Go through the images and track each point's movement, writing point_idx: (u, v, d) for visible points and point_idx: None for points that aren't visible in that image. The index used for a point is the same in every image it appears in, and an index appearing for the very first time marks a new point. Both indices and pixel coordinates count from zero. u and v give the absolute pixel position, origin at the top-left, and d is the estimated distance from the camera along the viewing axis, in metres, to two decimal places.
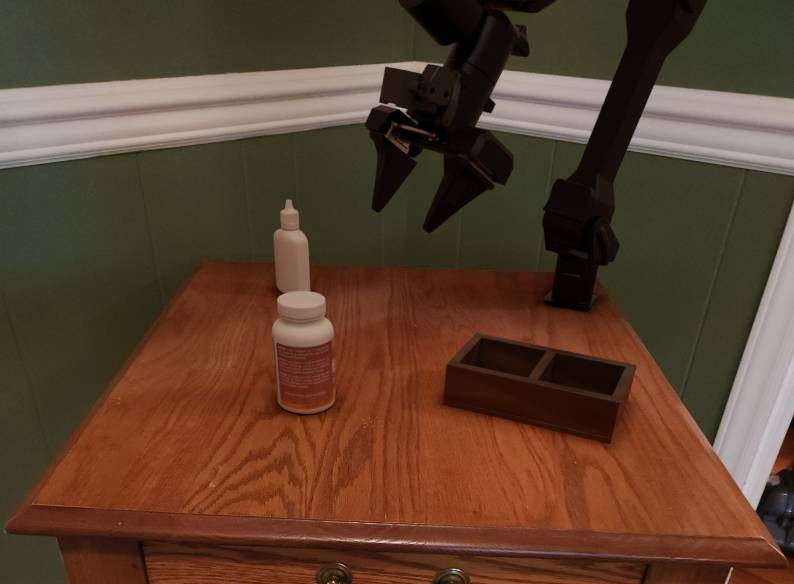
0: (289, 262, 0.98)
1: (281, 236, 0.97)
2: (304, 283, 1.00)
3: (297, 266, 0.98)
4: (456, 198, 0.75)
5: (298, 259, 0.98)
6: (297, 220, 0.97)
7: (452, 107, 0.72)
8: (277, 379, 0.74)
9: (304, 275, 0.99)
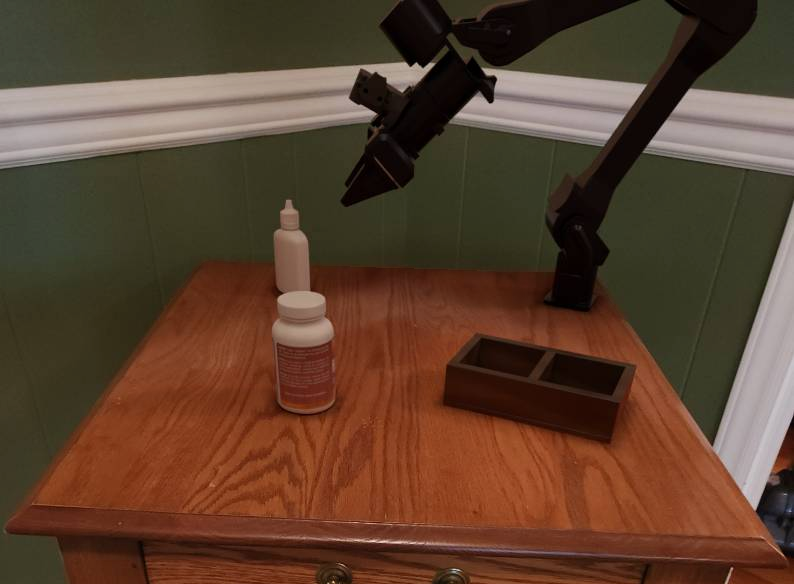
0: (289, 262, 0.98)
1: (281, 236, 0.97)
2: (304, 283, 1.00)
3: (297, 266, 0.98)
4: (369, 186, 0.89)
5: (298, 259, 0.98)
6: (297, 220, 0.97)
7: (394, 114, 0.87)
8: (277, 379, 0.74)
9: (304, 275, 0.99)
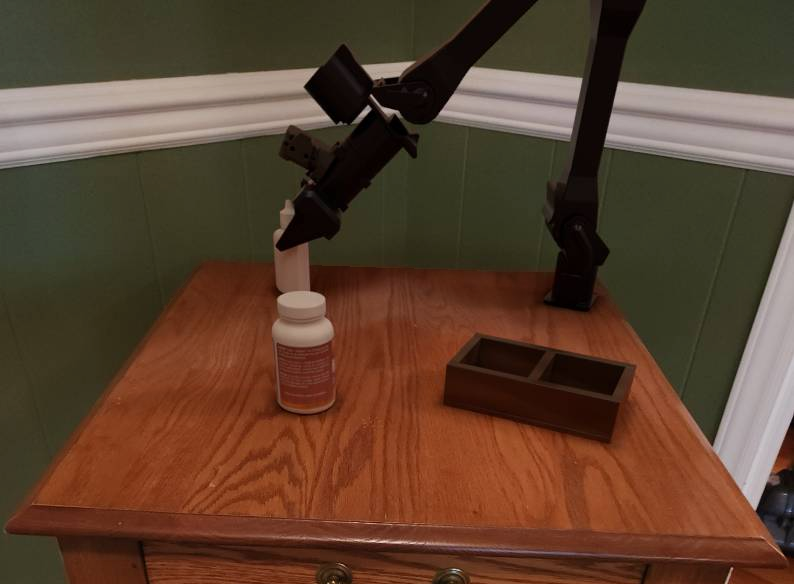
0: (289, 262, 0.98)
1: None
2: (304, 283, 1.00)
3: (297, 266, 0.98)
4: (301, 233, 0.94)
5: (298, 259, 0.98)
6: None
7: (321, 169, 0.90)
8: (277, 379, 0.74)
9: (304, 275, 0.99)
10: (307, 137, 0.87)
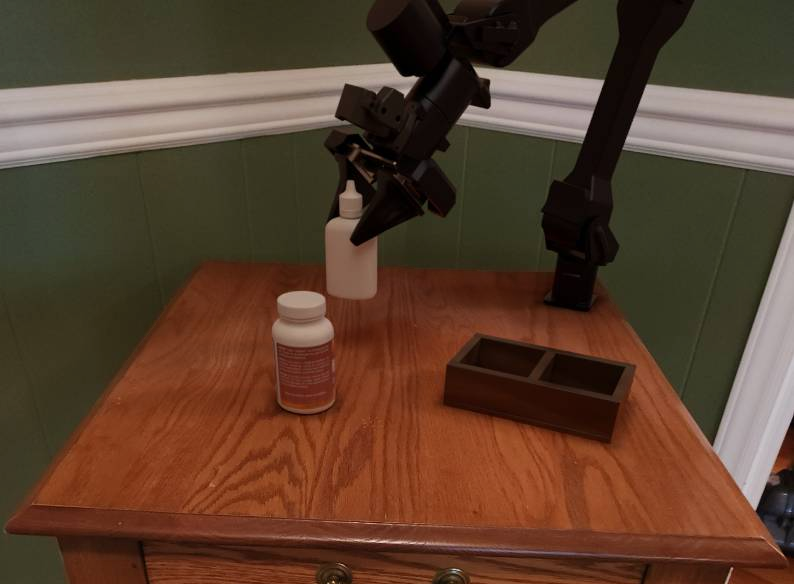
0: (360, 258, 0.79)
1: (348, 228, 0.77)
2: (375, 281, 0.82)
3: (371, 261, 0.79)
4: (386, 217, 0.76)
5: (373, 251, 0.79)
6: None
7: (404, 134, 0.73)
8: (277, 379, 0.74)
9: (375, 271, 0.81)
10: (400, 94, 0.69)
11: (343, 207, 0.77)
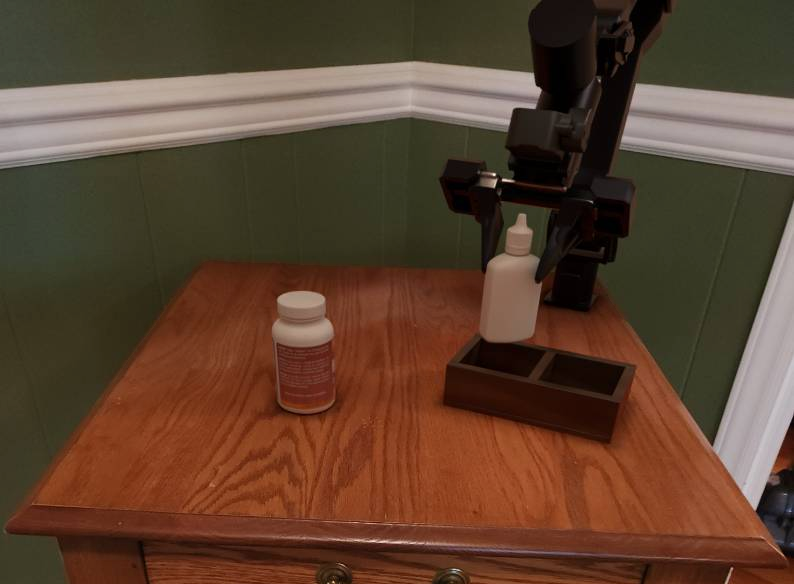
0: (532, 295, 0.72)
1: (525, 266, 0.70)
2: None
3: (539, 297, 0.73)
4: (562, 247, 0.70)
5: None
6: None
7: (573, 156, 0.68)
8: (277, 379, 0.74)
9: None
10: (591, 114, 0.64)
11: (519, 244, 0.69)
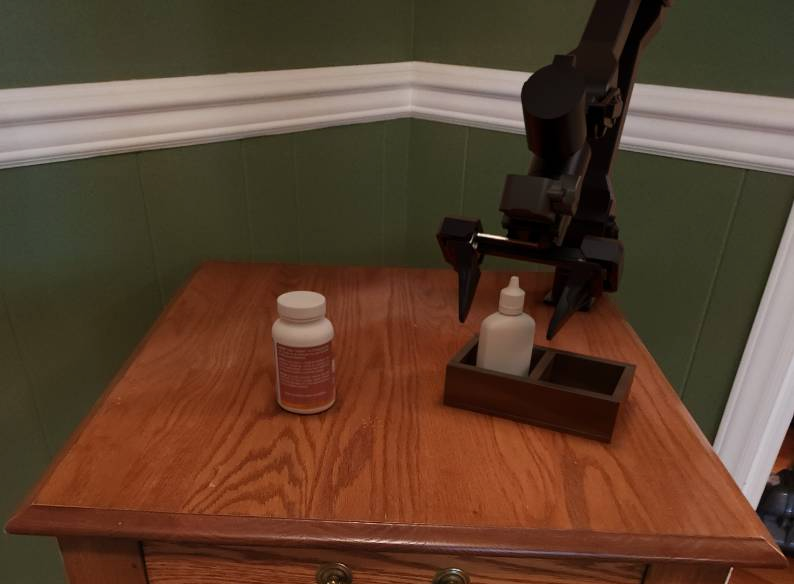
0: (524, 351, 0.76)
1: (517, 325, 0.73)
2: None
3: (531, 352, 0.76)
4: (572, 305, 0.73)
5: None
6: None
7: (563, 217, 0.71)
8: (277, 379, 0.74)
9: None
10: (581, 180, 0.67)
11: (512, 305, 0.72)
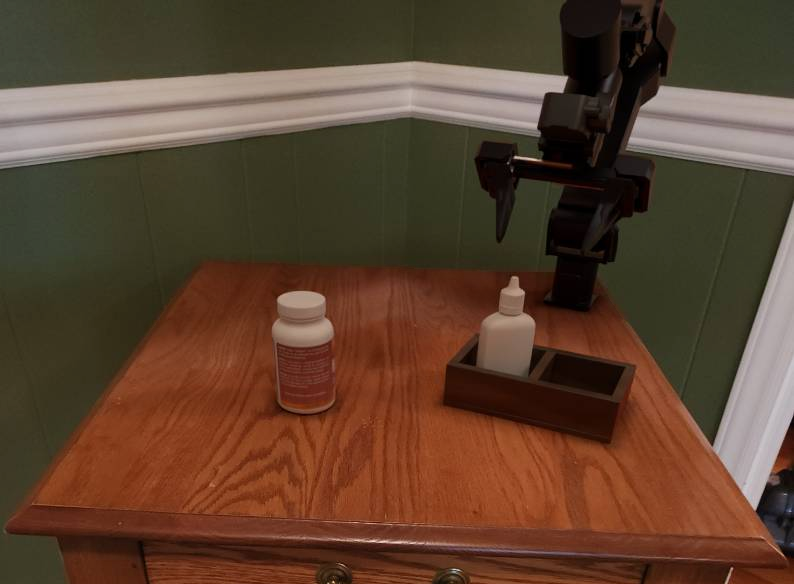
0: (524, 351, 0.76)
1: (517, 325, 0.73)
2: None
3: (531, 352, 0.76)
4: (605, 223, 0.76)
5: None
6: None
7: (597, 137, 0.75)
8: (277, 379, 0.74)
9: None
10: (616, 98, 0.71)
11: (512, 305, 0.72)
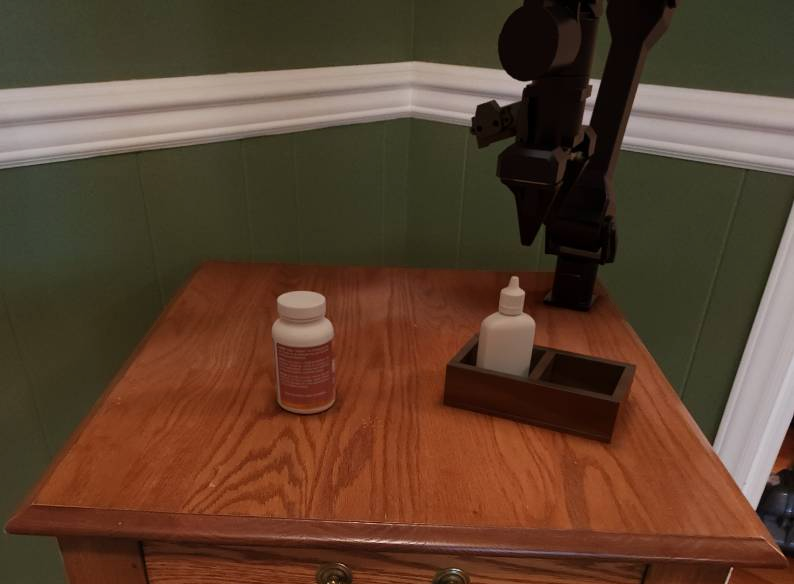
0: (524, 351, 0.76)
1: (517, 325, 0.73)
2: None
3: (531, 352, 0.76)
4: (534, 208, 0.76)
5: None
6: None
7: (521, 124, 0.75)
8: (277, 379, 0.74)
9: None
10: (485, 104, 0.74)
11: (512, 305, 0.72)
